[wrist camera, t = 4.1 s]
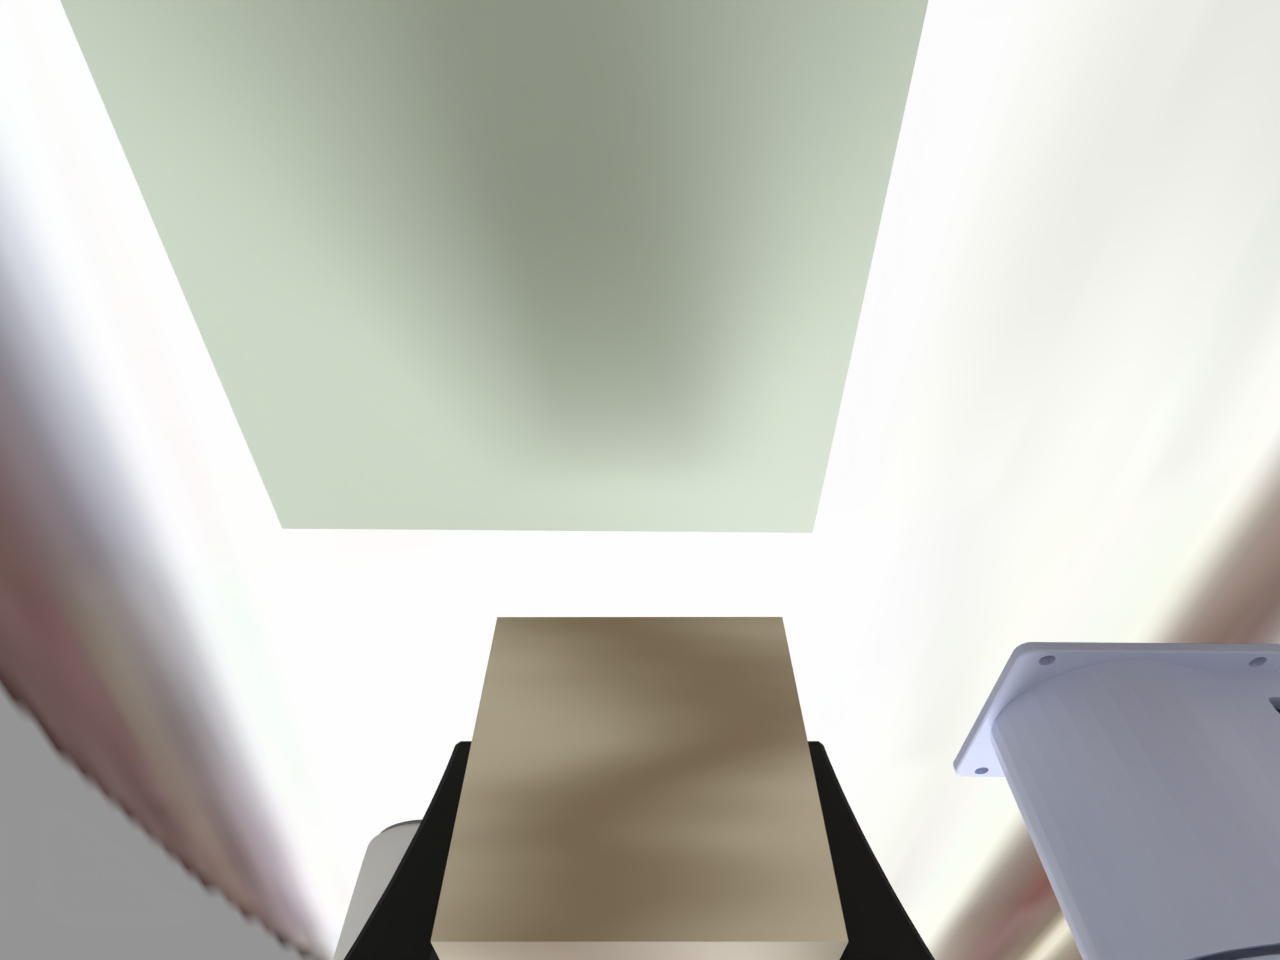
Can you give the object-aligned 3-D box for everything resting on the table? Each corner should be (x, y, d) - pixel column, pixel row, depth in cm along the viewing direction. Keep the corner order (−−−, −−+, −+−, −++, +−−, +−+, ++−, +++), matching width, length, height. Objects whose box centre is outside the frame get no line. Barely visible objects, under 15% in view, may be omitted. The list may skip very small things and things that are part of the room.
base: (937, -191, 11) (972, -205, 10) (802, 496, 20) (812, 532, 18) (43, -198, 11) (-30, -214, 10) (304, 492, 20) (282, 528, 18)
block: (782, 616, 12) (848, 941, 8) (754, 766, 15) (792, 1054, 11) (496, 617, 12) (430, 942, 8) (526, 766, 15) (487, 1054, 12)
